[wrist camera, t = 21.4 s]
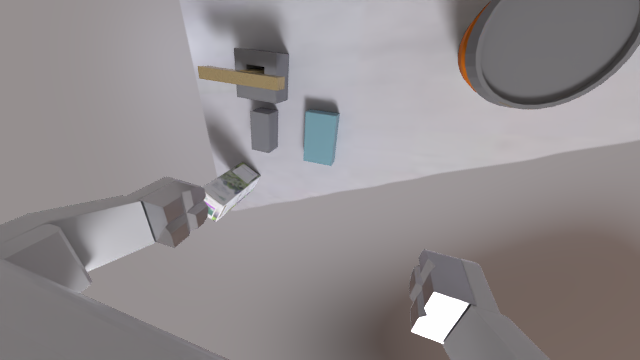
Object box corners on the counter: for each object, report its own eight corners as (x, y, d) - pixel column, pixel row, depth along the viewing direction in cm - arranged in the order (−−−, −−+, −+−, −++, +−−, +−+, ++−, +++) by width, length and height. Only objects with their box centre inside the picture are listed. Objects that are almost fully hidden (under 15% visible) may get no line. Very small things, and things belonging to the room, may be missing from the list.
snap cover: (310, 109, 45) (305, 111, 43) (340, 113, 44) (336, 116, 41) (308, 155, 50) (303, 160, 47) (334, 160, 49) (331, 165, 46)
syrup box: (234, 176, 58) (191, 207, 46) (243, 160, 55) (198, 188, 43) (252, 190, 59) (214, 224, 46) (261, 174, 56) (223, 206, 43)
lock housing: (250, 49, 43) (233, 47, 39) (288, 54, 41) (276, 53, 37) (253, 141, 52) (240, 148, 48) (285, 148, 50) (275, 156, 46)
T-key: (302, 73, 42) (277, 76, 33) (302, 85, 43) (277, 91, 34) (237, 64, 45) (197, 65, 36) (237, 75, 46) (199, 79, 37)
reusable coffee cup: (432, 33, 34) (453, 16, 21) (536, -32, 28) (651, -108, 16) (460, 109, 37) (493, 133, 25) (559, 64, 32) (669, 66, 19)
